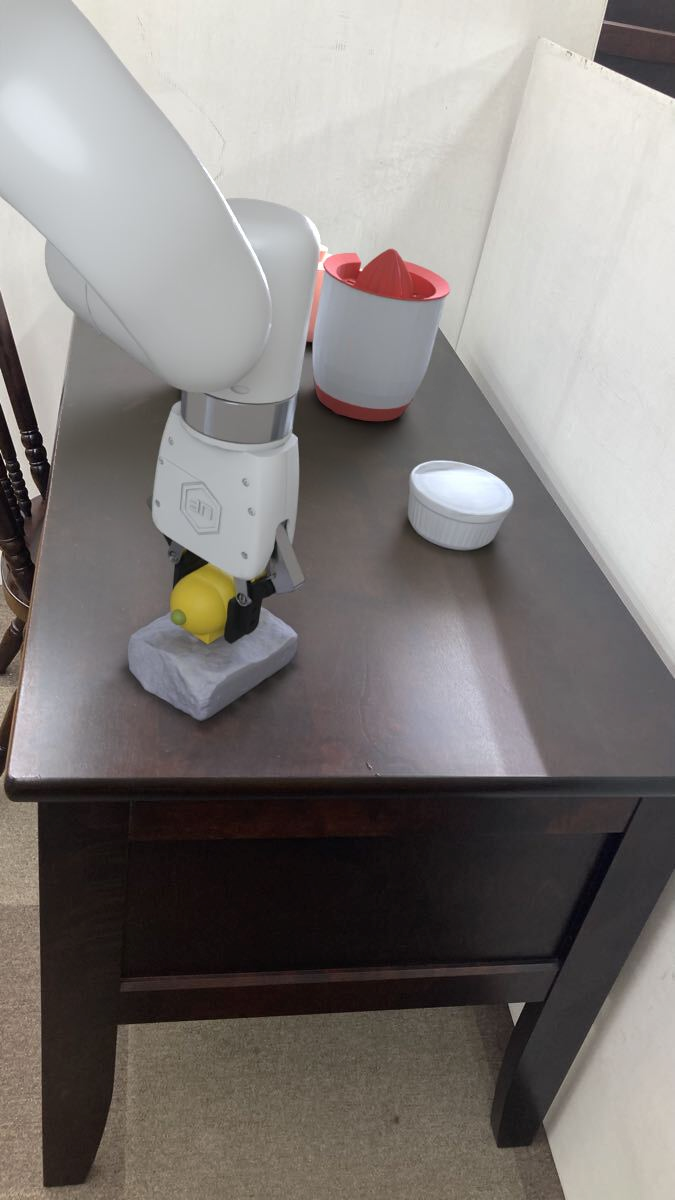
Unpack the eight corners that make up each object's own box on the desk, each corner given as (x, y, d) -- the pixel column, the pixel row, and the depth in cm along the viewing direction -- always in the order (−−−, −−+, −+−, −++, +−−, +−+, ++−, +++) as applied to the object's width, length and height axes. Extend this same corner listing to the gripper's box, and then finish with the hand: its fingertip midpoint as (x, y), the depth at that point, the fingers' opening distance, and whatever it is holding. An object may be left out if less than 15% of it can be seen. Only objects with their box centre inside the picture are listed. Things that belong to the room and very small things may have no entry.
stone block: (114, 684, 71) (206, 732, 66) (109, 632, 69) (204, 677, 63) (217, 626, 79) (305, 665, 74) (215, 578, 77) (306, 615, 72)
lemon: (194, 661, 66) (200, 610, 63) (147, 629, 67) (151, 579, 65) (276, 608, 72) (284, 560, 70) (232, 580, 74) (238, 532, 71)
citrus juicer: (404, 379, 126) (439, 234, 114) (428, 437, 113) (470, 279, 101) (295, 366, 123) (319, 215, 111) (306, 424, 110) (335, 259, 98)
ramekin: (443, 490, 102) (455, 450, 99) (520, 539, 97) (535, 497, 94) (378, 516, 95) (388, 473, 92) (456, 569, 90) (470, 526, 87)
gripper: (105, 369, 60) (101, 586, 70) (304, 475, 53) (266, 696, 64) (184, 346, 65) (169, 551, 76) (374, 439, 58) (327, 649, 69)
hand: (214, 615), depth 70 cm, fingers closed on lemon, 4 cm apart
